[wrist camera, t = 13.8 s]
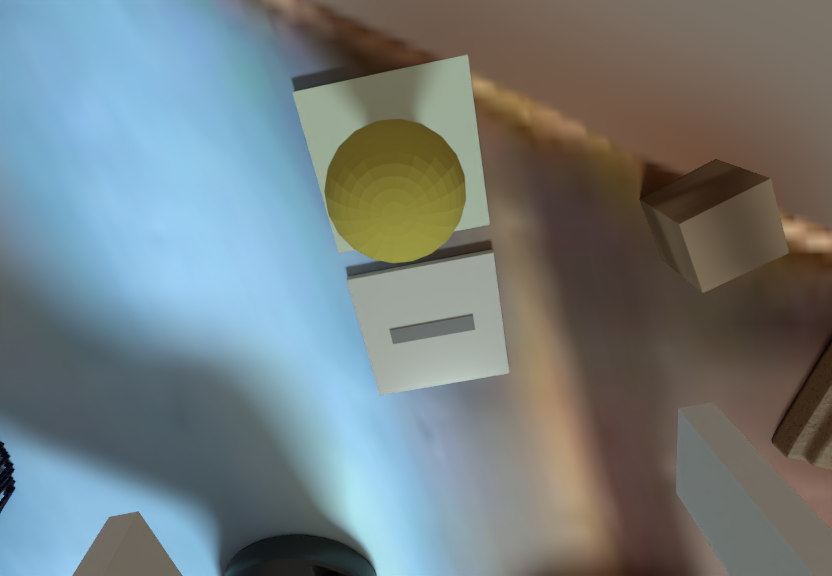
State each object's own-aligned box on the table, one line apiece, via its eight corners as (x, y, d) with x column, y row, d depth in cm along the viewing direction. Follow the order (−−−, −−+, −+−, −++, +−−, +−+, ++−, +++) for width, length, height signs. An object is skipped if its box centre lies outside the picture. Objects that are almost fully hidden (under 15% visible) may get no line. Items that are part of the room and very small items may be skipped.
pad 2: (380, 390, 37) (379, 396, 37) (347, 276, 33) (346, 280, 32) (507, 368, 37) (509, 373, 36) (492, 249, 32) (493, 253, 31)
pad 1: (339, 249, 32) (338, 253, 31) (294, 91, 27) (292, 92, 27) (488, 221, 31) (490, 225, 31) (466, 54, 27) (467, 54, 26)
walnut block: (662, 259, 33) (702, 293, 28) (638, 198, 31) (679, 224, 26) (734, 224, 32) (788, 253, 27) (715, 159, 30) (770, 178, 25)
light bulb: (415, 79, 27) (420, 93, 18) (473, 180, 29) (503, 237, 20) (319, 145, 28) (279, 189, 19) (382, 236, 31) (373, 312, 22)
